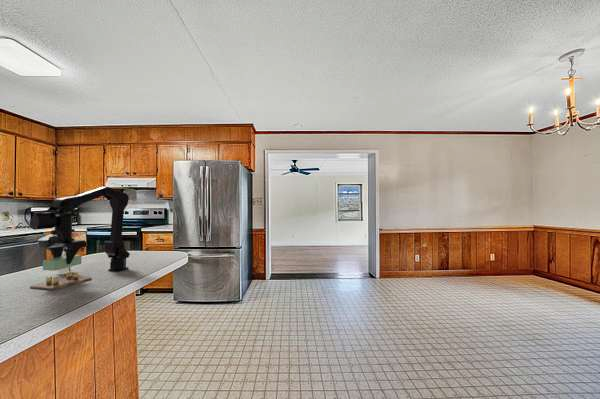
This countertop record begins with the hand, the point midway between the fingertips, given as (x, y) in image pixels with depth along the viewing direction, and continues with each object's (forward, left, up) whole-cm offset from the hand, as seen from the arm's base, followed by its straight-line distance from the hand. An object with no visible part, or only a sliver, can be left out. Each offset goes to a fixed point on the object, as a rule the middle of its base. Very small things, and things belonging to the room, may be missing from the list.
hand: (63, 263), depth 119 cm
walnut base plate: (0, 0, -9) cm, 9 cm away
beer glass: (-13, -16, -9) cm, 22 cm away
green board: (0, 0, -1) cm, 1 cm away
